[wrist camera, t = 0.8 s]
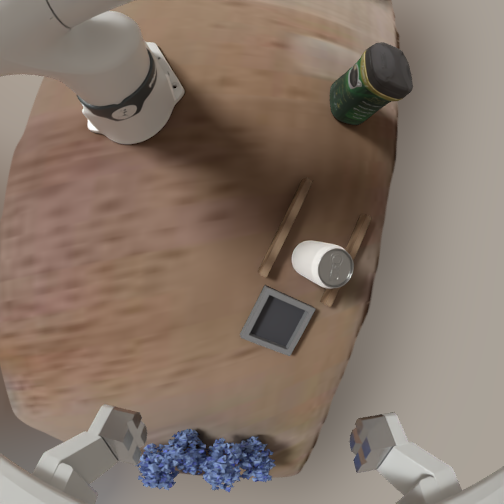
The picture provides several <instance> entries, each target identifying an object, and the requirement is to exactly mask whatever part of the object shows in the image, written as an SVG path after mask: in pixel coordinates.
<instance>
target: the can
mask: <svg viewBox="0 0 504 504" xmlns="http://www.w3.org/2000/svg"><path fill="white" fill-rule="evenodd" d="M292 265H293V267H294V269H295V270H296V272H298V273H299V274H300V275H302V276H304V277H305V278H307V279H309V280H310V281H312V282H314V283H316V284H318V285H319V286H321V287H324V288H339V287H342V286H344V285H345V284H346V283H347V282H348V281H349V280H350V278H351V276H352V274H353V270H354V264H353V260H352V257H351V256H350V254H349V253H348V252H347V251H346V250H345V249H344V248H342V247H340V246H338V245H335V244H329V243H324V242H318V241H311V240H309V241H304V242H301V243H300V244H298V245H297V246H296V248H295V249H294V251H293V254H292Z"/></svg>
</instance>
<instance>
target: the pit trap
mask: <svg viewBox="0 0 504 504" xmlns="http://www.w3.org/2000/svg"><path fill="white" fill-rule="evenodd" d="M314 311H315V308H314V307H312V306H310V305H308V304H306V303H304V302H301V301H299V300H297V299H295V298H293V297H290V296H288V295H286V294H284V293H281V292H279V291H277V290H275V289H273V288H270V287H268V286H266V285H265V286H264V288H263V290H262V292H261V294H260V296H259V298H258V300H257V302H256V304H255V306H254V308H253V310H252V312H251V313H250V315H249V317H248V319H247V321H246V323H245V325H244V327H243V329H242V331H241V333H240V336H241V338H243V339H245V340H248V341H251V342H253V343H256V344H258V345H261V346H264V347H266V348H269V349H272V350H274V351H277V352H280V353H283V354H285V355H288V356H290V355H291V353H292V351H293V350H294V348H295V346H296V344H297V343H298V341H299V339H300V337H301V335H302V334H303V332H304V330H305V328H306V326H307V324H308V322H309V321H310V319H311V317H312V315H313V313H314Z"/></svg>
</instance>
